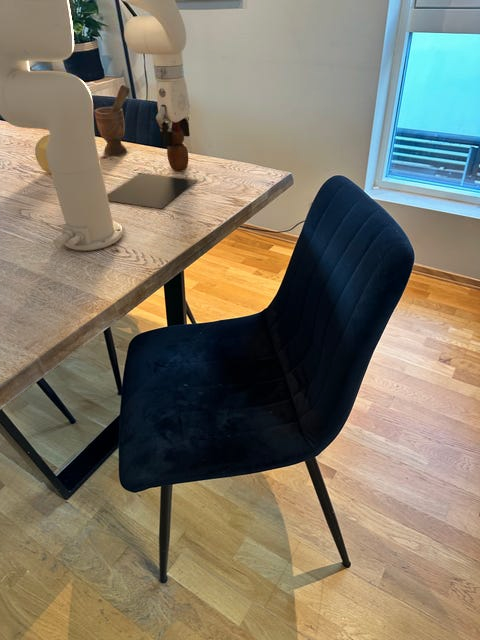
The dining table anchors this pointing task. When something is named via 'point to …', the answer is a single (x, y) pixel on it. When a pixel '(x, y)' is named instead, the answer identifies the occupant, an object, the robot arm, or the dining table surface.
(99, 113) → the mortar and pestle
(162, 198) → the mat
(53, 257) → the dining table surface
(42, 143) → the sculpture
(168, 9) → the robot arm
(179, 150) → the wooden figurine
